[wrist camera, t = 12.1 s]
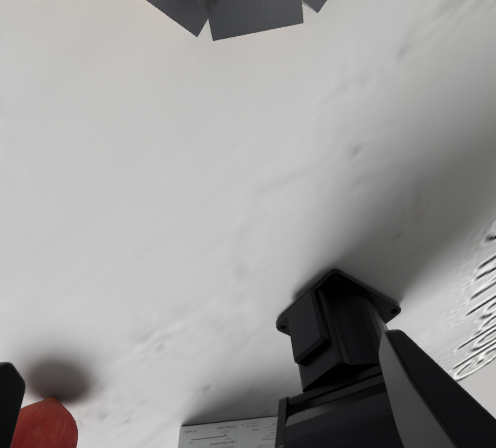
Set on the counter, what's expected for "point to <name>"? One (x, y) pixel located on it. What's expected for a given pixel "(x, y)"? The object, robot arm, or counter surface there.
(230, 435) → the light bulb box
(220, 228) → the counter surface
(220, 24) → the hinge
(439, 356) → the counter surface
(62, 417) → the onion
